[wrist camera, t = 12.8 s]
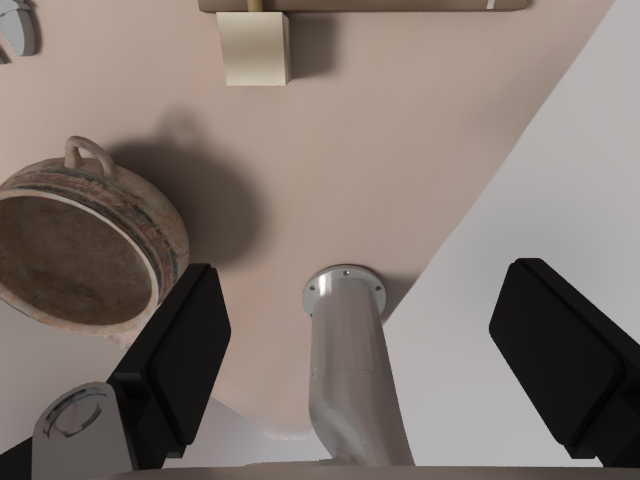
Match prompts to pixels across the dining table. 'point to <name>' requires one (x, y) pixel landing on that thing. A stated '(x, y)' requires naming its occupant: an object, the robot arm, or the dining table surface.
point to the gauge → (255, 46)
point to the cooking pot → (88, 243)
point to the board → (364, 6)
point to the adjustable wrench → (17, 27)
